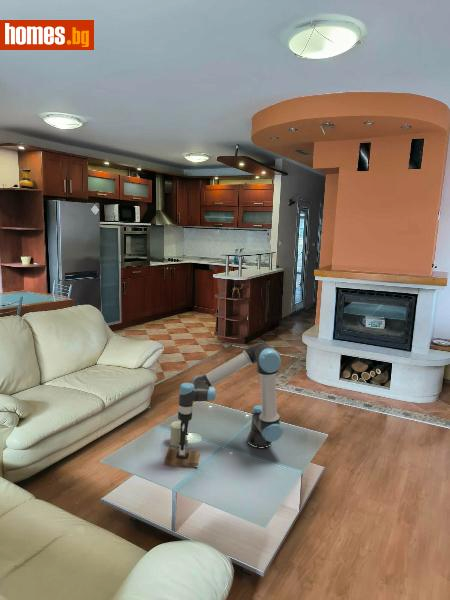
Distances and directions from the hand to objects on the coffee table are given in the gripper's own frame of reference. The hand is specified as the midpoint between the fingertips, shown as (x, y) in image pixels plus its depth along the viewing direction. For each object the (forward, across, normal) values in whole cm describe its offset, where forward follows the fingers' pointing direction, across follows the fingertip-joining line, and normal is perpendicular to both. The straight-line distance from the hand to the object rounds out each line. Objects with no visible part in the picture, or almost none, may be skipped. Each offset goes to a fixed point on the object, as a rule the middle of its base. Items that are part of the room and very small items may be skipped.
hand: (182, 450), depth 224 cm
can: (+6, -18, -5) cm, 20 cm away
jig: (+6, 0, 0) cm, 6 cm away
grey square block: (+6, 0, 0) cm, 6 cm away
